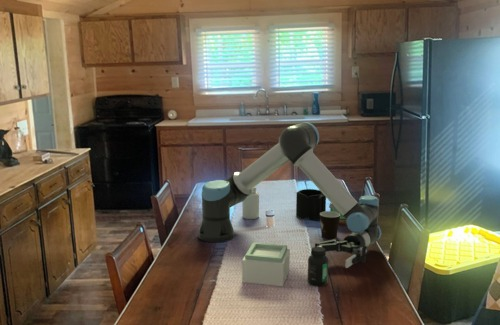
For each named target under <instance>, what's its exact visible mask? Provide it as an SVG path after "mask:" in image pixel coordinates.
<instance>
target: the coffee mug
mask: <svg viewBox="0 0 500 325" xmlns="http://www.w3.org/2000/svg"><path fill="white" fill-rule="evenodd" d="M339 220H340V214H339V213H337V212H332V211H330V210H329V211H328V210H326V211H325V212H321V213H320V222H319V224H320V231H321V232H320V233H321V237H322V238H323V239H324V240H333V239H337V237H338V232H339Z"/></svg>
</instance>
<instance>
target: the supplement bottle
mask: <svg viewBox="0 0 500 325" xmlns="http://www.w3.org/2000/svg"><path fill="white" fill-rule="evenodd" d="M328 278H329V258H328V257H327V251H326V249H325V248H323V247H315V246H314V247H312V248H311V250H310V255H309V256H308V258H307V283H308V284H309V285H310V286H314V287H324V286H326V285H327V284H328V281H329V280H328Z"/></svg>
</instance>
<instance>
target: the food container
mask: <svg viewBox="0 0 500 325" xmlns="http://www.w3.org/2000/svg"><path fill="white" fill-rule="evenodd" d="M328 206H329V207H328V208H330V209H329V211H332V212H337V213H339V214H340V220H339V226H342V227H343V226H347V223H346V222H347V220H346V219H345V218H344V217H343V215H342V214H341V213H340V212H339V211H338V210H337V209H336V208H335V207H334V205H333V204H332V203H331V202H330V203H329V205H328ZM339 226H338V227H339Z"/></svg>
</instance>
